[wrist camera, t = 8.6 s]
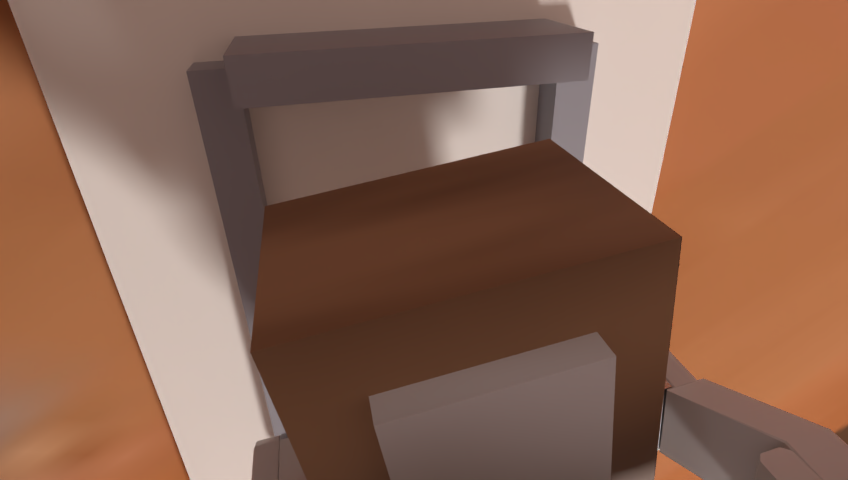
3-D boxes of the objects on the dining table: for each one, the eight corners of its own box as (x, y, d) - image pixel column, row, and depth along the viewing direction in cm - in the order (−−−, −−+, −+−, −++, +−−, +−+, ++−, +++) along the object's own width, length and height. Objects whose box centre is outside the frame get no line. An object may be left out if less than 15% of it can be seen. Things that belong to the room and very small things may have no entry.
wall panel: (565, 551, 28) (600, 627, 25) (259, 629, 25) (255, 725, 22) (690, -122, 13) (812, -144, 10) (-8, -117, 11) (-134, -144, 7)
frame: (560, 462, 15) (652, 636, 11) (376, 520, 15) (407, 724, 11) (549, 138, 10) (708, 256, 6) (264, 206, 9) (246, 383, 6)
